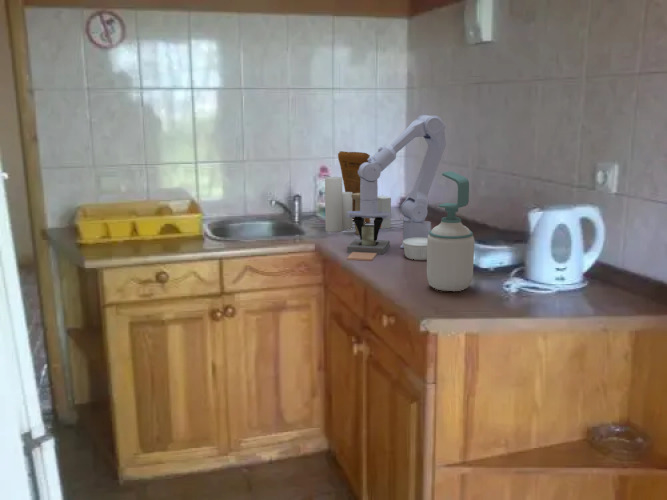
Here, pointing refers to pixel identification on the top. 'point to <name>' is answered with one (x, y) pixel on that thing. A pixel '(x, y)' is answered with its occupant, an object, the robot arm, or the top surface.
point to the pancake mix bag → (352, 172)
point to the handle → (357, 207)
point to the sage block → (368, 235)
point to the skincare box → (384, 210)
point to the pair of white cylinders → (337, 205)
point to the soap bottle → (451, 245)
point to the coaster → (361, 256)
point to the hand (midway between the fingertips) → (368, 239)
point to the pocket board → (368, 247)
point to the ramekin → (415, 248)
